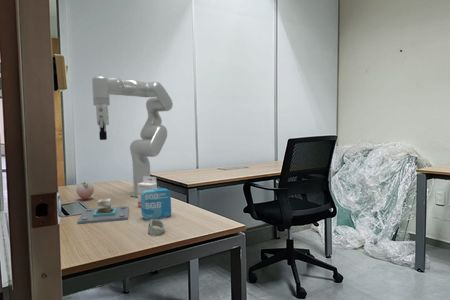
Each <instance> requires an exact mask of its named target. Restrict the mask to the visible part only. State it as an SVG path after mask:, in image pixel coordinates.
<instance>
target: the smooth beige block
mask: <svg viewBox="0 0 450 300" xmlns="http://www.w3.org/2000/svg"><path fill="white" fill-rule="evenodd" d="M111 208H112V199H111V198H101V199H98V201H97V209H98V214H101V213H111Z"/></svg>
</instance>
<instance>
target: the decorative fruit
mask: <svg viewBox="0 0 450 300" xmlns="http://www.w3.org/2000/svg"><path fill="white" fill-rule="evenodd" d="M75 191H76V194H77V195H78V197H79V198H81V199H82V200H88V199H90V198H91V197H92V195H93V194H94V191H95V189H94V186H93V185H92V184H91V183H86V181H84V182H82V183H80V184H79V185H78V186H77V187H76V190H75Z"/></svg>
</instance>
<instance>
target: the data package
mask: <svg viewBox="0 0 450 300" xmlns="http://www.w3.org/2000/svg"><path fill="white" fill-rule="evenodd" d="M140 208H141V209H140V210H141V217H142V218H143V219H144V220H146V221H148V220H149V221H150V220H151V219H152V220H159V219H163V218H164V219H165V218H170V217H171V214H172V199H171V191H170V190H169V189H168V188H165V187H164V188H159V189H153V190H144V191H142V192H141V207H140Z"/></svg>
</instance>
